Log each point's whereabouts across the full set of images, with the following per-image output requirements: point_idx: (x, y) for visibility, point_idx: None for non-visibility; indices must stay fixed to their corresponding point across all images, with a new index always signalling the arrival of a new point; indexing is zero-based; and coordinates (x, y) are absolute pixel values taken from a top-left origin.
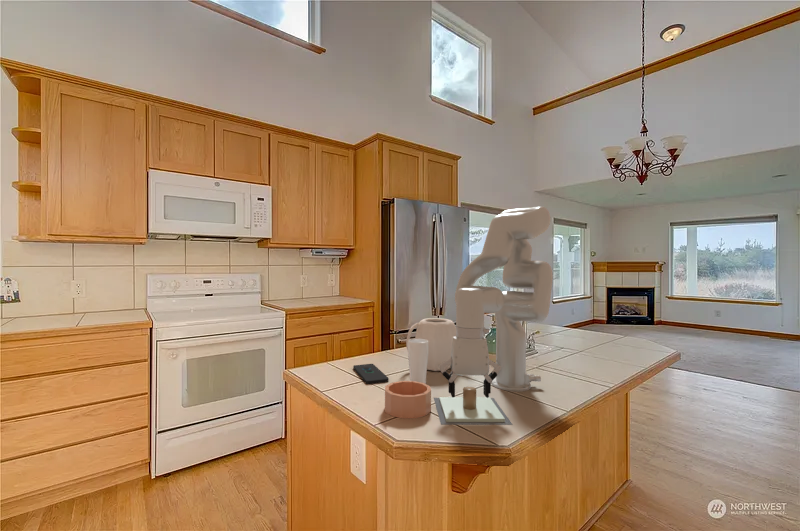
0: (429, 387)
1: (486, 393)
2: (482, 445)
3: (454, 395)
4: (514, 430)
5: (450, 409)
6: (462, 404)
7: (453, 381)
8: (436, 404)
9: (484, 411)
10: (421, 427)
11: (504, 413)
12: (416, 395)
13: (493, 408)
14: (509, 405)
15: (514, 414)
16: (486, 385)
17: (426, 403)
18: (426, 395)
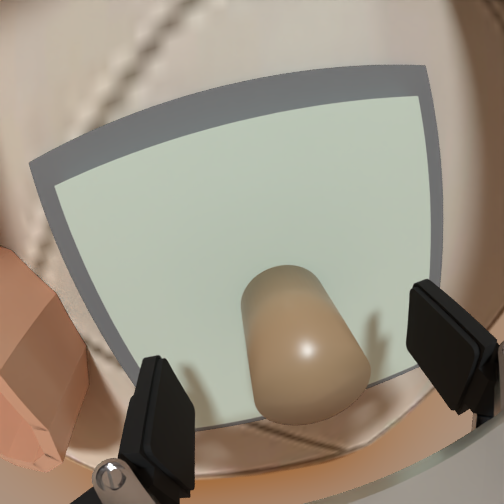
0: (11, 393)
1: (420, 363)
2: (305, 463)
3: (192, 418)
4: (417, 379)
5: (175, 360)
6: (234, 278)
7: (176, 494)
8: (72, 267)
9: (359, 332)
10: (118, 438)
11: (439, 281)
12: (43, 466)
13: (411, 281)
14: (476, 153)
15: (469, 257)
16: (448, 402)
17: (73, 422)
18: (63, 452)
